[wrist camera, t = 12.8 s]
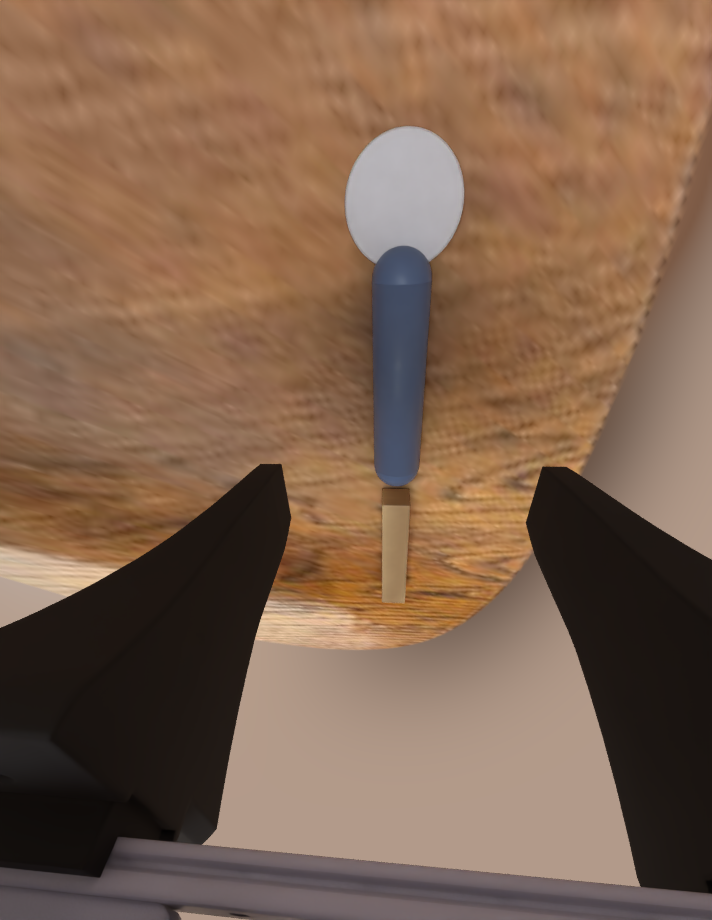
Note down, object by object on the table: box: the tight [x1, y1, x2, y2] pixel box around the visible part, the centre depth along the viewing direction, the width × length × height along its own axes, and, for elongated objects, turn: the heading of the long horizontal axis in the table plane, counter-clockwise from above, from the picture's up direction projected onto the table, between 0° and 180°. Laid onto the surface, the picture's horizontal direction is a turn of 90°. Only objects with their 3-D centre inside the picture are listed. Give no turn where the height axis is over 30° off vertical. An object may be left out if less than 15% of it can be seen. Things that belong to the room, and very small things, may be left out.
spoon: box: [345, 126, 464, 486], centre depth 16 cm, size 15×4×2 cm, turn 2°
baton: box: [382, 488, 410, 603], centre depth 24 cm, size 2×9×2 cm, turn 2°
